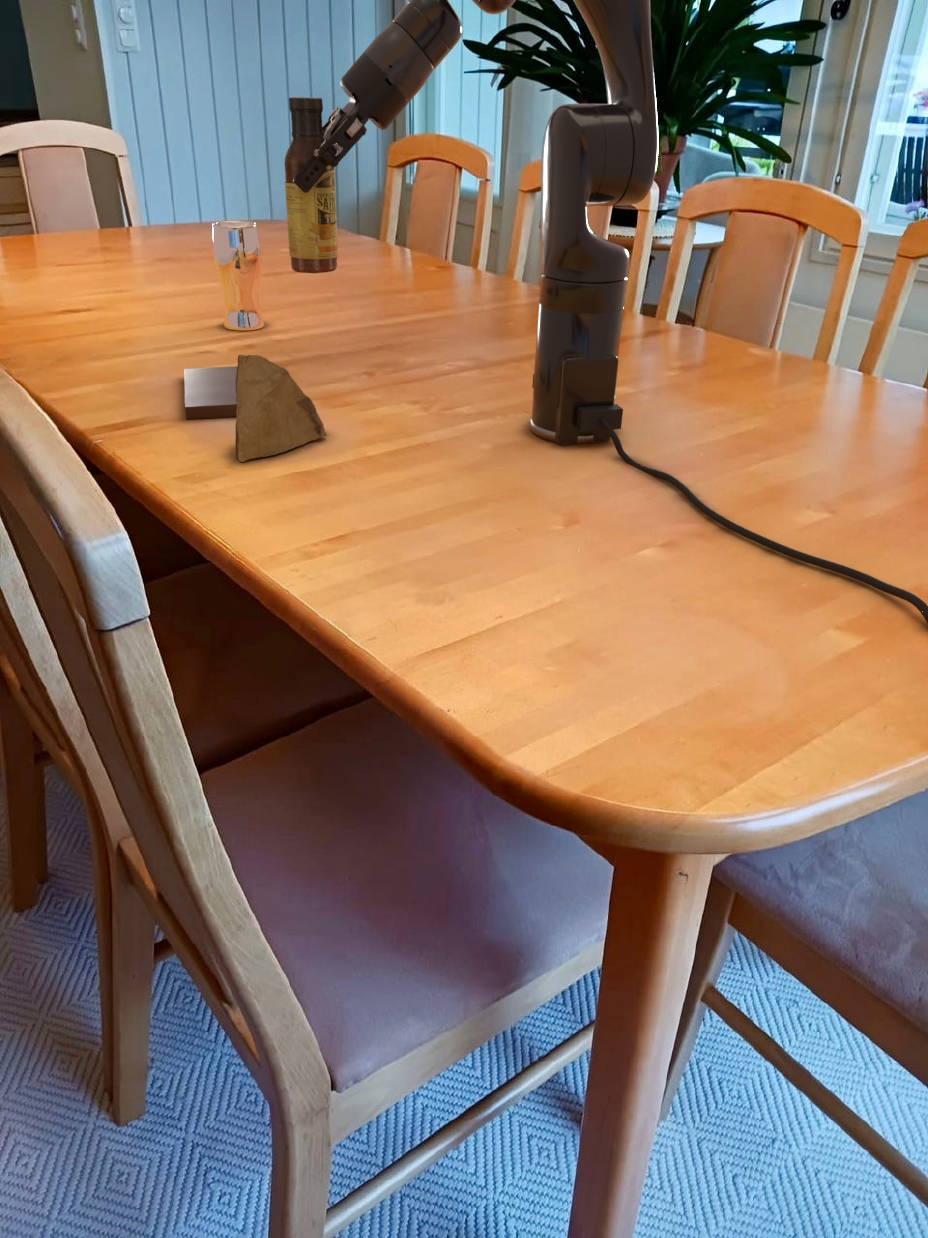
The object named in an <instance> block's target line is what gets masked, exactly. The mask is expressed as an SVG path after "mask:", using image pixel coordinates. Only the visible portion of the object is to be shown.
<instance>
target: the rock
mask: <svg viewBox="0 0 928 1238" xmlns="http://www.w3.org/2000/svg"><path fill="white" fill-rule="evenodd" d="M236 367H237V372H236V394H237V397H236V403H237V408H236V417H235V420H236V421H235V445H234V446H235V456H236V459H238V462H240V463H245V462H247V461H248V460H251V459H258V458H266V457H271V456H276V455H279V454H282V453H285V452H287V451H290V450H293V449H294V448H296V447H301V446H303V445H305V444H307V443H309V442H313V441H316V440H318V439H322V438H323V437H325V436H327V432H326V430H325V425H324V423H323V421H322V419H321V417H320V414H319V413H318V411H317V408H316V406H315V404H314V401H313V400H312V399H311V398H310V397H309V396H308V395H307V394H305V392H304V391H303V390H302V389H301V388H300V386H299V385H298V383H297V382H296V381H295V380H294V378H292V376H291V373H290V372H289V370H288V369H286V368H285V367H283V366H280V365H279V364H277V363H275V362H273V361H270V360H269V359H267V358H266V357H264V356H261V355H258V354H247V355H244V354H238V356H237V366H236Z"/></svg>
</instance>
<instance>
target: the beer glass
mask: <svg viewBox="0 0 928 1238" xmlns="http://www.w3.org/2000/svg"><path fill="white" fill-rule="evenodd" d="M211 226H212V249H213V258H214V264H215V268H216V273H217V277H218V281H219V284H220V288H221V291H222V295H223V301H224V319H223V321H224V323H223V326H224V328H225V329H227V330H229V331H238V332H239V331H241V332H246V331H254V330H255V331H256V330H260V329H262V328H263V327H265V323H264V317H263V315H262V311H261V303H260V290H261V277H262V251H261V243H260V235H259V230H258V223H257V222H255V221H251V220H220V221H216V222H215V221H214V222H213V223H212V224H211Z"/></svg>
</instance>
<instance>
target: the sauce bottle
mask: <svg viewBox="0 0 928 1238" xmlns="http://www.w3.org/2000/svg"><path fill="white" fill-rule="evenodd" d="M288 108H289V112H290V119H291V137H292V140H291V142H290V145H289V147H288V149H287V151H286V153H285V157H284V164H283V165H284V175H285V177H284V178H285V181H284V193H285V206H286V221H287V222H286V223H287V239H288V253H289V257H290V267H291V270H293V271H294V272H296V273H301V274H324V273H332V272H335V271H336V270H337V268H338V267H337V266H338V257H339V249H338V247H339V246H338V223H337V221H338V219H337V196H336V175H335V174H336V173H335V167H334V168H332V169H330V170H328V171H327V170H326V169H325V170H326V172H325V173H324V174H323V175H322V176H321V177H320V179H319V180H318V181H317V182H316V183H315V184H314V186H313V187H312V188H311V189H310V190H309V192H307V193H305V192H303V191H302V190H301V189H300V188H299V187H298V186H297V185H296V184H295V183H294V181H293V178H294V177H295V175H296V174H297V173H298V172H299V171H300V170H301V168H302V167H303V166H304V165H305V164H306V162H307V161H308V160H309V159H310V158H311V157H313V158H314V159H315V157H314V156H313V153H314V151H315V149H317V148H318V147H319V145H320V144H321V140H320V137H321V135H322V134H323V132H322V125H323V115H322V114H323V110H324V105H323V98H322V97H313V96H310V97H307V96H290V97H288Z"/></svg>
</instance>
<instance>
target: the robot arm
mask: <svg viewBox="0 0 928 1238" xmlns="http://www.w3.org/2000/svg"><path fill="white" fill-rule="evenodd" d="M471 1H472V2H473V4H475V5H476V7H478V8H479V9H480V10H481V11H483V12H484V13H486V14H488V15H499V14H502V13H504V12H505V11H507V10H508V9H510V8H511V7H512V6H513V5H514V4H515V3H516V1H517V0H471ZM572 1H573V2H574V5H575V6H576V8H577V10H578V11H579V13H580V15H581V17H582V19H583V20H584V23H585V25H586V26H587V28H588V30H589V32H590V34H591V36H592V38H593V40H594V42H595V45H596V48H597V50H598V54H599V57H600V60H601V64H602V68H603V74H604V79H605V89H606V101H607V103H565V104H561V105H559V106H557V107H556V108H555V109H554V110H553V111H552V113H551V114H550V116H549V118H548V120H547V123H546V125H545V128H544V133H543V134H544V135H543V138H542V139H543V140H542V147H541V159H540V160H541V162H540V222H539V242H540V256H541V261H540V262H541V263H540V279H539V296H538V297H539V298H538V309H537V310H538V311H537V325H536V326H537V327H536V339H535V340H536V342H535V358H534V371H533V372H534V373H533V374H532V407H531V417H530V423H529V424H530V425H529V428H530V431H531V432H532V433H533V434H534V435H536V436H538V437H540V438H542V439H545V440H549V441H553V442H554V443H556V444H557V445H561V446H562V445H576V444H591V443H604V442H610V441H612V442H613V446H614V448H615V451H616V453H617V455H618V456H619V457H620V458H621V459H622V460H623V462H625V463H626V464H628V465H629V466H631V467H634V468H635V469H638V470H640V471H642V472H644V473H646V474H648V475H649V476H652V477H654V478H658V479H661V480H663V481H665V482H667V483H670V484H671V485H672V486H674V487H675V488H676V489H678V490H679V491H680V492H681V493H682V494H683V495H684V496H685V497H686V498H687V499H688V500H689V501H690V503H691V504H692V505H693V506H695V507H696V509H698V510H699V511H701V512H702V513H703V514H704V515H705V516H707V517H709V518H710V519H712V520H713V521H714V522H716V523H718V524H719V525H721V526H723V527H725V528H726V529H728V530H730V531H732V532H734V533H736V534H738V535H740V536H742V537H744V538H745V539H748V540H750V541H753V542H755V543H757V544H759V545H761V546H764V547H766V548H768V549H770V550H773V551H775V552H776V553H777V552H778V553H780V554H782V555H784V556H786V557H789V558H792V559H795V560H797V561H801V562H803V563H807V564H809V565H813V566H816V567H819V568H822V569H826V570H829V571H831V572H834V573H838V574H841V575H844V576H846V577H848V578H851V579H854V580H857V581H859V582H862V583H864V584H866V585H868V586H871V587H872V588H874V589H877V590H879V591H881V592H884V593H886V594H888V595H891V596H894V597H896V598H898V599H901V600H904V601H906V602H908V603H909V604H911V605H913V606H914V608H916V609H917V610H918V611H919V613H920V614H921V615H922V617H923V619H924V620H925V622H926V624H927V625H928V604H927V603H926V602H925V601H924V600H923V599H921V598H920V597H918V596H917V595H915V594H914V593H912V592H910V591H908V590H906V589H903V588H900V587H897V586H895V585H892V584H889V583H887V582H885V581H883V580H880V579H878V578H876V577H873V576H872V575H870V574H867V573H865V572H863V571H860V570H858V569H854V568H852V567H850V566H846V565H843V564H839V563H836V562H834V561H831V560H827V559H824V558H820V557H817V556H814V555H812V554H808V553H806V552H802V551H800V550H797V549H794V548H791V547H789V546H787V545H783V544H782V543H780V542H777V541H775V540H772V539H770V538H767V537H765V536H763V535H760V534H758V533H756V532H754V531H751V530H749V529H747V528H745V527H743V526H741V525H740V524H737V523H736V522H733V521H732V520H730V519H728V518H726V517H724V516H722V515H721V514H720V513H718V512H716V511H715V510H713V509H711V508H710V507H709V506H707V505H706V504H705V503H703V502H702V501H701V500H700V499H699V498H698V497H697V496H696V495H695V493H693V492H692V490H691V489H690V488H689V487H688V486H686V485H685V484H684V483H683V482H682V481H680V480H678V479H677V478H676V477H674V476H672V475H671V474H669V473H667V472H664V471H662V470H659V469H654V468H651V467H649V466H645V465H642V464H640V463H638V462H637V461H636V460H634V459H632V457H630V456H629V455H628V454H627V452H625V449H624V448H623V446H622V442H621V440H620V438H619V435H618V434H617V433H616V431H615V430H621V429H622V424H623V423H622V422H623V414H624V408H622V407H621V406H620V405H619V404H617V403H615V399H616V388H617V378H618V372H619V371H618V370H619V363H620V362H619V359H620V349H621V340H622V339H621V338H622V329H623V321H624V312H625V303H626V294H627V284H628V277H629V276H628V275H629V266H630V254H629V251H628V249H627V248H626V247H625V246H623V245H621V244H619V243H617V242H614V241H611V240H609V239H606V238H604V237H602V236H599V235H598V233H596V232H594V231H593V230H592V229H591V228H590V226H589V222H588V209H587V207H612V206H613V207H615V206H616V207H617V206H632V205H638V204H639V203H642V202H643V200H645V198H646V197H647V196H648V195H649V193H650V191H651V189H652V187H653V185H654V180H655V178H656V173H657V168H658V158H659V157H658V156H659V125H658V111H657V110H658V109H657V97H656V84H655V72H654V71H655V70H654V59H653V45H652V28H651V27H652V25H651V22H652V21H651V0H572ZM463 31H464V30H463V24H462V22H461V19H460V18H459V16H458V14H457V12H456V11H455V8H454V7H453V5H452V4H451V2H450V1H449V0H408V1H407V3H406V4H405V5H404V7H403V8H402V9H401V10H400V11H399V12H398V14H397V15H396V16H395V17H394V19H392V21H391V22H390V23H389V24H388V25H387V26H386V27H385V28H384V29H382V31H381V32H379V33H378V34H377V35H376V36H375V38H374V39H373V40H372V41H371V42H370V43H369V45H368V46H367V47H366V48H365V50H364V51H363V52H362V53H361V54H360V55H359V57H358V58H357V59H356V61H354V63H353V64H352V65H351V66H350V67H349V69H348V70H347V71H346V72H345V74H344V75H343V76H342V77H341V78H340V81H339V84H340V87H341V88H342V89H341V90H343V92H344V93H345V94H346V95H347V96H348V98H349V101H348V102H347V104H346V105H345V106H343V108H341V107H338V106H336V107H335V108H334V109H333V111H331V112H330V114H329V117H328V119H327V120H326V121H325V122H324V123H322V132H323V134H322V135H321V137H320V140H321V144H320V145H319V147H318V148H317V149H315V151H314V153H313V156H314V157H315V159H314V158H313V157H311V158H310V159H309V160H308V161H307V162H306V164H305V165H304V166H303V167H302V168H301V170H300V171H299V172H298V173H297V174H296V175H295V177H294V178H293V181H294V183H295V184H296V185H297V186H298V187H299V188H300V189H301V190H302V191H303V192H305V193H307V192H309V190H310V189H311V188H312V187H313V186H314V184H315V183H316V182H317V181H318V180H319V179H320V177H321V176H322V175H323V174H324V173H325V172H326V170H327V171H328V170H330V169H332V168H334V169H335V168H337V166H338V165H339V163H340V162H341V161H342V160H343V158H344V157H346V156H347V155H348V153H349V152H350V150H351V149H352V148H354V146H355V145H356V144H357V143H358V142H359V141H360V140H361V139H362V138H363V137H364V136H365V135H366V134H367V131H368V128H367V127H366V124H367V123H368V121H370V122H371V123H372V124H373V125H374V126H376V127H377V128H378V129H380V130H382V131H384V130H387V129H388V128H389V127H390V125H391V124H392V123H394V121H395V120H396V119H397V118H398V116H399V115H400V114H401V113H402V111H403V110H404V109H405V108H406V107H407V106H408V104H409V103H410V102H411V101H412V100H413V99H414V97H415V96H416V95H417V94H418V93H419V92H420V91H421V90H422V88H423V87H424V86H425V84H426V82H427V81H428V79H429V78H430V76H431V75H432V73H433V72H434V71H435V70H436V69H437V67H438V66H439V65H440V64H441V63H442V62H443V60H444V59H445V58H446V57H447V56H448V54H449V53H450V52H451V51H452V50H453V48H455V47H456V45H457V44H458V43H459V41H460V40H461V38H462V35H463ZM325 169H326V170H325ZM922 611H923V612H922Z"/></svg>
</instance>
